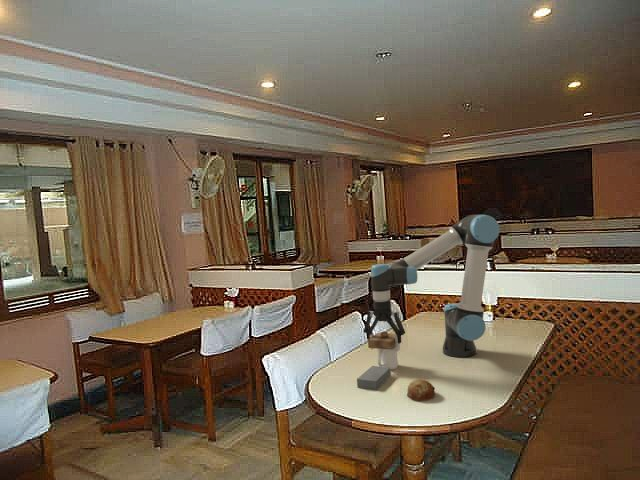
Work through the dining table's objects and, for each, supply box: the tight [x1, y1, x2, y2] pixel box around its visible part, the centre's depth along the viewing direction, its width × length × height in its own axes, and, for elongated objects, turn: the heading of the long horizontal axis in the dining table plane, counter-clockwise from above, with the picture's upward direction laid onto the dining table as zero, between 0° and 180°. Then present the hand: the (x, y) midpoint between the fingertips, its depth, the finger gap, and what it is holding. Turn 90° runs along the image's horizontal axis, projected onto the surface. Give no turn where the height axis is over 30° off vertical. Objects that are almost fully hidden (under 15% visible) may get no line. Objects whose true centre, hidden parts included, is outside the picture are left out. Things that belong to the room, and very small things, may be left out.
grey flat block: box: [356, 365, 392, 391], centre depth 192 cm, size 8×16×4 cm, turn 151°
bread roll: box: [406, 378, 436, 402], centre depth 175 cm, size 10×10×8 cm
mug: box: [376, 347, 399, 371], centre depth 206 cm, size 12×8×10 cm
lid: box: [367, 331, 396, 350], centre depth 206 cm, size 11×11×6 cm
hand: (385, 349), depth 206 cm, fingers closed on lid, 11 cm apart
